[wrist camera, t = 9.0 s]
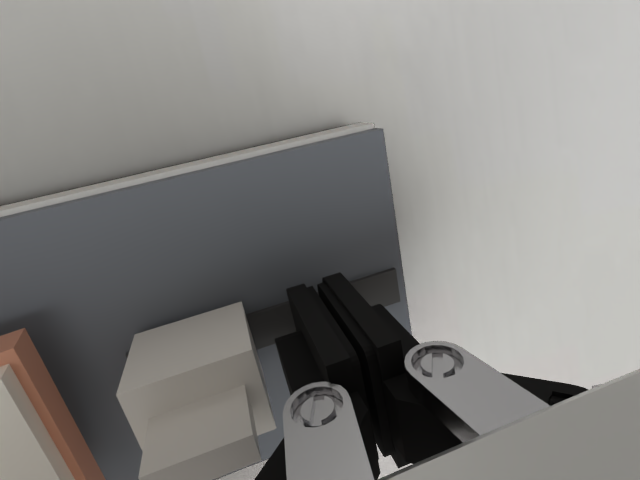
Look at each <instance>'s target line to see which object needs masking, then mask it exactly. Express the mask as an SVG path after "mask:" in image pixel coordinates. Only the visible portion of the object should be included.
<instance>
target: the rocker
mask: <svg viewBox="0 0 640 480" xmlns="http://www.w3.org/2000/svg"><path fill="white" fill-rule="evenodd" d="M0 480H106V479H105V477H104V476H103V474H102V472H101V470H100V468H99V466H98V464H97V462H96V461H95V459H94V457H93V455H92V453H91V451H90V449H89V447H88V445H87V444H86V442H85V440H84V438H83V436H82V434H81V432H80V430H79V429H78V427H77V425H76V423H75V421H74V419H73V417H72V415H71V413H70V412H69V410H68V408H67V406H66V404H65V402H64V400H63V398H62V397H61V395H60V393H59V391H58V389H57V387H56V385H55V383H54V381H53V380H52V378H51V376H50V374H49V372H48V370H47V368H46V366H45V365H44V363H43V361H42V359H41V357H40V355H39V353H38V351H37V349H36V348H35V346H34V344H33V342H32V340H31V338H30V336H29V334H28V333H27V331H26V329H25V328H22V329H19V330H16V331H14V332H11V333H8V334H5V335H2V336H0Z"/></svg>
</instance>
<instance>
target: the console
mask: <svg viewBox="0 0 640 480" xmlns="http://www.w3.org/2000/svg"><path fill="white" fill-rule="evenodd" d="M339 272H340V273H342V275H343V276H344V277H345V278H346V279H347V280H348V281H349V282H350V284H351V285H352V286H353V287H354V288H355V289H356V290H357V291H358V292H359V294H360V295H361V296H362V297H363V298H364V299H365V300H366V301H367V302H368V304H369V305H370V306H374V305H377V304H381V305H383V306H384V307H385V308H386V309H387V310H388V311H389V312H390V314H391V315H392V316H393V317H394V318H395V319H396V320H397V321H398V322H399V323H400V324H401V325H402V326H403V327H404V328H405V329H406V330H407V331H408V332H409V333H410V334H411V335H412V333H411V326H410V319H409V312H408V305H407V297H406V290H405V283H404V276H403V269H402V261H401V254H400V247H399V240H398V233H397V226H396V218H395V211H394V204H393V197H392V190H391V182H390V175H389V168H388V161H387V154H386V146H385V139H384V132H383V129H381V128H375V126H374V123H356V124H351V125H347V126H343V127H338V128H334V129H330V130H326V131H321V132H317V133H313V134H308V135H304V136H300V137H295V138H291V139H287V140H283V141H278V142H274V143H270V144H265V145H261V146H257V147H253V148H248V149H244V150H240V151H235V152H231V153H227V154H223V155H218V156H214V157H210V158H205V159H201V160H197V161H193V162H188V163H184V164H180V165H175V166H171V167H167V168H162V169H158V170H154V171H150V172H145V173H141V174H137V175H132V176H128V177H124V178H120V179H115V180H111V181H107V182H102V183H98V184H94V185H90V186H85V187H81V188H77V189H72V190H68V191H64V192H60V193H55V194H51V195H47V196H42V197H38V198H34V199H29V200H25V201H21V202H17V203H12V204H8V205H4V206H0V336H2V335H5V334H8V333H11V332H14V331H16V330H19V329H22V328H25V329H26V331H27V333H28V334H29V336H30V338H31V340H32V342H33V344H34V346H35V348H36V349H37V351H38V353H39V355H40V357H41V359H42V361H43V363H44V365H45V366H46V368H47V370H48V372H49V374H50V376H51V378H52V380H53V381H54V383H55V385H56V387H57V389H58V391H59V393H60V395H61V397H62V398H63V400H64V402H65V404H66V406H67V408H68V410H69V412H70V413H71V415H72V417H73V419H74V421H75V423H76V425H77V427H78V429H79V430H80V432H81V434H82V436H83V438H84V440H85V442H86V444H87V445H88V447H89V449H90V451H91V453H92V455H93V457H94V459H95V461H96V462H97V464H98V466H99V468H100V470H101V472H102V474H103V476H104V477H105V479H106V480H139V479H138V476H139V471H140V465H141V459H142V454H143V451H142V449H141V447H140V445H139V443H138V441H137V439H136V437H135V434H134V432H133V430H132V428H131V426H130V424H129V422H128V420H127V417H126V415H125V413H124V411H123V409H122V407H121V405H120V403H119V400H118V398H117V396H116V393H117V390H118V387H119V384H120V380H121V377H122V374H123V371H124V367H125V364H126V361H127V358H128V354H129V351H130V348H131V344H132V341H133V338H134V335H135V334H138V333H141V332H144V331H147V330H150V329H154V328H157V327H160V326H163V325H167V324H170V323H173V322H176V321H180V320H183V319H186V318H189V317H192V316H196V315H199V314H202V313H205V312H209V311H212V310H215V309H218V308H222V307H225V306H228V305H231V304H234V303H238V302H241V301H242V304H243V308H244V311H245V314H246V318H247V321H248V324H249V327H250V331H251V334H252V337H253V341H254V344H255V347H256V351H257V354H258V357H259V360H260V364H261V367H262V371H263V375H264V379H265V383H266V387H267V392H268V396H269V400H270V404H271V408H272V412H273V416H274V421H275V425H276V429H274V430H271V431H269V432H266V433H263V434H261V435H258V436H257V438H258V444H259V449H260V455H261V461H264V460H266V459H269V458H270V457H271V455H272V454H273V452H274V451H275V449H276V448H277V447H278V445H279V444H280V442H281V441H282V439H283V438H284V426H283V410H284V405H285V404H286V402H287V400H288V398H289V397H290V396H291V395H290V392H289V389H288V385H287V382H286V379H285V375H284V372H283V369H282V365H281V362H280V358H279V354H278V351H277V347H276V344H275V338H278V337H281V336H284V335H287V334H290V333H293V332H296V327H295V323H294V319H293V315H292V311H291V308H290V304H289V300H288V296H287V291H286V289H287V288H290V287H294V286H297V285H300V284H303V283H304V284H305V285H306V287H310V286H313V287H314V289H315V290H316V292H317V293H318V288H317V284H320V283H322V278H323V277H326V276H329V275H333V274H336V273H339ZM318 295H319V293H318ZM261 461H259V462H261ZM259 462H256V463H259ZM256 463H254V464H256ZM254 464H251V465H254ZM251 465H249V466H251ZM249 466H246V467H249ZM246 467H244V468H246ZM244 468H241V469H244ZM241 469H239V470H241ZM236 471H238V470H236ZM236 471H234V472H236ZM231 473H233V472H231ZM231 473H228V474H231ZM228 474H226V475H228ZM226 475H223V476H226ZM223 476H221V477H223ZM221 477H218V478H221ZM218 478H216V479H218ZM216 479H213V480H216Z"/></svg>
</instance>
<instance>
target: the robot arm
mask: <svg viewBox="0 0 640 480" xmlns="http://www.w3.org/2000/svg"><path fill="white" fill-rule="evenodd" d="M317 288H318V293H319V295H318V293H317V292H316V290H315V289H314V287H313V286H310V287H306V285H305V284H304V283H303V284H300V285H297V286H294V287H290V288H287V289H286V291H287V296H288V300H289V304H290V308H291V311H292V315H293V319H294V323H295V327H296V332H293V333H290V334H287V335H284V336H281V337H278V338H275V344H276V347H277V351H278V354H279V358H280V362H281V365H282V369H283V372H284V375H285V379H286V382H287V385H288V389H289V392H290V395H291V396H290V397H289V398H288V400H287V402H286V404H285V405H284V410H283V426H284V438H283V439H282V441H281V442H280V444H279V445H278V447H277V448H276V449H275V451H274V452H273V454H272V455H271V457H270V458H269V460H268V461H267V462H266V464H265V465H264V467H263V468H262V470H261V471H260V472H259V474H258V475H257V477H256V478H255V480H377V479H378V477H379V474H380V469H379V463H378V459H379V457H378V452H377V447H376V444H377V445H378V447H379V449H380V451H381V453H382V454H383V456H384V457H386V456H389V455H391V456H392V458H393V459H394V461H395V463H396V465H397V467H398V468H400V467H403V466H405V465H407V464H410V463H412V464H413V465H410V466H408V467H406V468H403V469H401V470H399V471H396V472H394V473H392V474H389V475H387V476H385V477H382V478H380V479H378V480H640V369H638V370H636V371H633V372H631V373H629V374H626V375H624V376H621V377H619V378H616V379H614V380H611V381H609V382H606V383H604V384H600V385H594V386H592V389H590V390H588V389H586V388H583V387H579V386H575V385H571V384H565V383H559V382H553V381H547V380H541V379H535V378H529V377H523V376H517V375H511V374H504V373H500V372H498V371H497V370H495V369H494V368H492V367H491V366H489V365H488V364H486V363H485V362H483V361H482V360H480V359H479V358H477V357H476V356H474V355H472V354H471V353H469V352H468V351H466V350H465V349H463V348H462V347H460V346H458V345H456V344H453V343H449V342H445V341H431V342H425V343H422V344H419V343H418V342H417V340H416V339H415V338H414V337H413V336H412V335H411V334H410V333H409V332H408V331H407V330H406V329H405V328H404V327H403V326H402V325H401V324H400V323H399V322H398V321H397V320H396V319H395V318H394V317H393V316H392V315H391V314H390V312H389V311H388V310H387V309H386V308H385V307H384V306H383V305H381V304H377V305H374V306H370V305H369V304H368V302H367V301H366V300H365V299H364V298H363V297H362V296H361V295H360V294H359V292H358V291H357V290H356V289H355V288H354V287H353V286H352V285H351V284H350V282H349V281H348V280H347V279H346V278H345V277H344V276H343V275H342V273H340V272H339V273H336V274H333V275H329V276H326V277H323V278H322V283H320V284H317Z"/></svg>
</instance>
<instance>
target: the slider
mask: <svg viewBox="0 0 640 480" xmlns="http://www.w3.org/2000/svg"><path fill="white" fill-rule="evenodd" d="M116 396H117V398H118V400H119V403H120V405H121V407H122V409H123V411H124V413H125V415H126V417H127V420H128V422H129V424H130V426H131V428H132V430H133V432H134V434H135V437H136V439H137V441H138V443H139V445H140V447H141V449H142V451H143V454H142V459H141V465H140V471H139V476H138V479H139V480H213V479H216V478H218V477H221V476H223V475H226V474H228V473H231V472H234V471H236V470H239V469H241V468H244V467H246V466H249V465H251V464H254V463H256V462H259V461H261V455H260V449H259V444H258V438H257V436H258V435H261V434H263V433H266V432H269V431H271V430H274V429H276V425H275V421H274V416H273V412H272V408H271V404H270V400H269V396H268V392H267V387H266V383H265V379H264V375H263V371H262V367H261V364H260V360H259V357H258V354H257V351H256V347H255V344H254V341H253V337H252V334H251V331H250V327H249V324H248V321H247V318H246V314H245V311H244V308H243V304H242V301H241V302H238V303H234V304H231V305H228V306H225V307H222V308H218V309H215V310H212V311H209V312H205V313H202V314H199V315H196V316H192V317H189V318H186V319H183V320H180V321H176V322H173V323H170V324H167V325H163V326H160V327H157V328H154V329H150V330H147V331H144V332H141V333H138V334H135V335H134V338H133V341H132V344H131V348H130V351H129V354H128V358H127V361H126V364H125V367H124V371H123V374H122V377H121V380H120V384H119V387H118V390H117V393H116Z"/></svg>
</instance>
